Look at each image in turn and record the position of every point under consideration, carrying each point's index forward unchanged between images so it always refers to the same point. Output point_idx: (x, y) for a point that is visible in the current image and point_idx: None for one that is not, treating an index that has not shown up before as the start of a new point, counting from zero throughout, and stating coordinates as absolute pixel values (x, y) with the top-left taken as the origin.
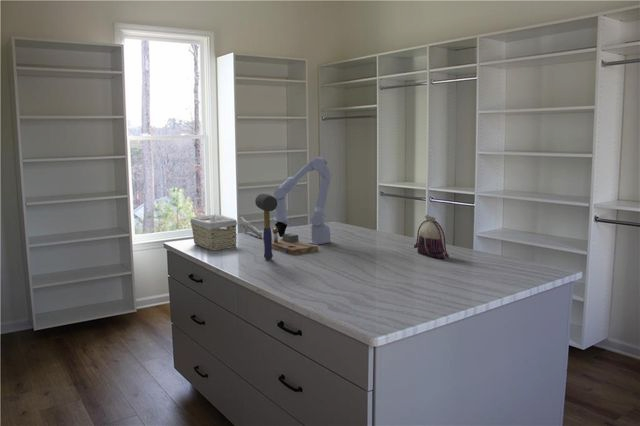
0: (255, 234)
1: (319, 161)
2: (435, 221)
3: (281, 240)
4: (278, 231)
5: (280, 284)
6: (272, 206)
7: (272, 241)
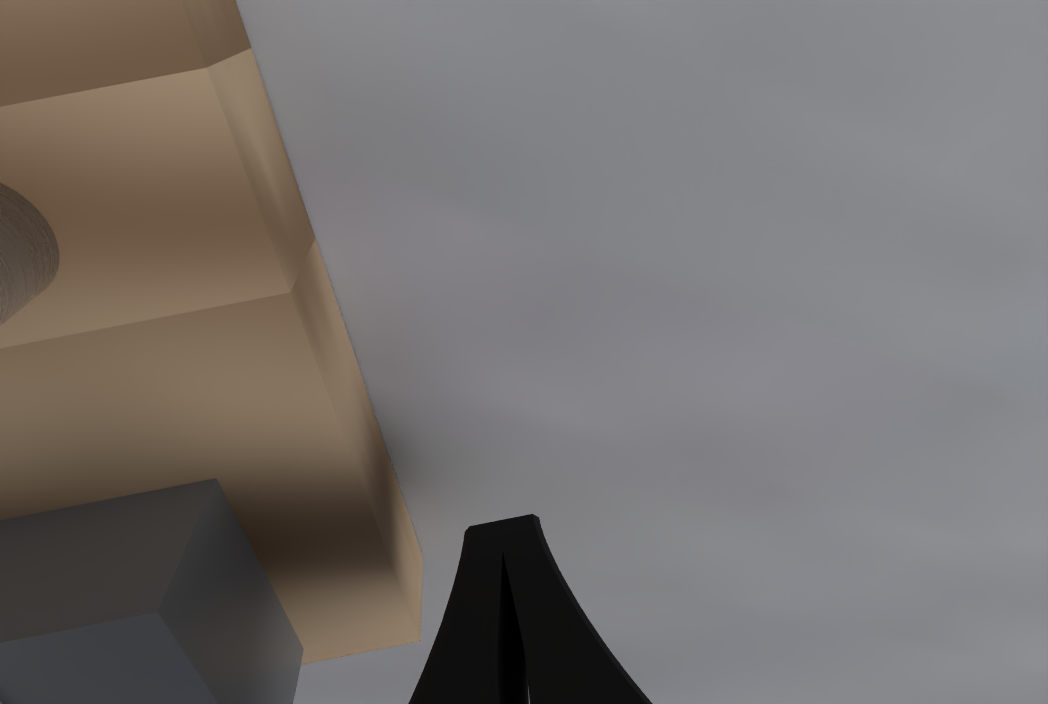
0: None
1: None
2: None
3: (201, 447)
4: (545, 621)
5: None
6: None
7: (129, 176)
